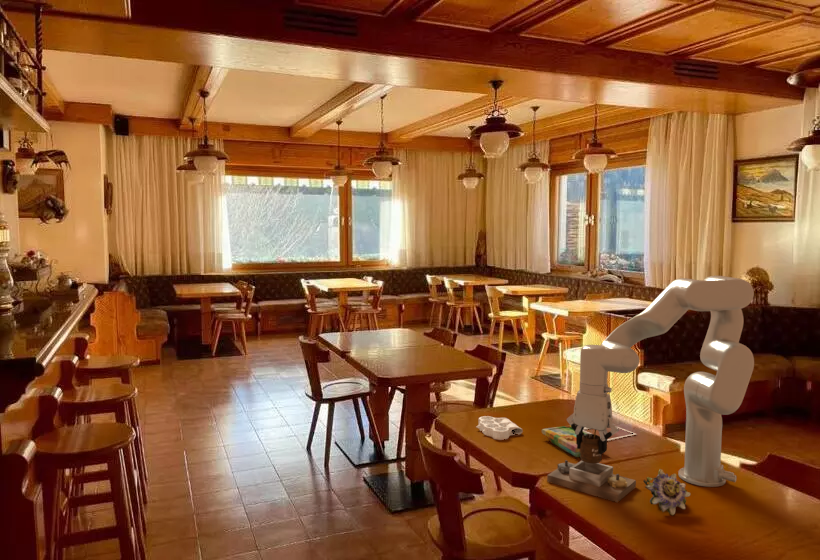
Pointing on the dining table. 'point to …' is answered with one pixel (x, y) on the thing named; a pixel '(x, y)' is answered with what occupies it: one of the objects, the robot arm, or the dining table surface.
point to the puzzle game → (563, 438)
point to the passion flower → (667, 492)
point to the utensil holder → (590, 448)
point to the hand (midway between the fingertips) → (591, 449)
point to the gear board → (592, 480)
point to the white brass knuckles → (498, 427)
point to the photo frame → (611, 438)
